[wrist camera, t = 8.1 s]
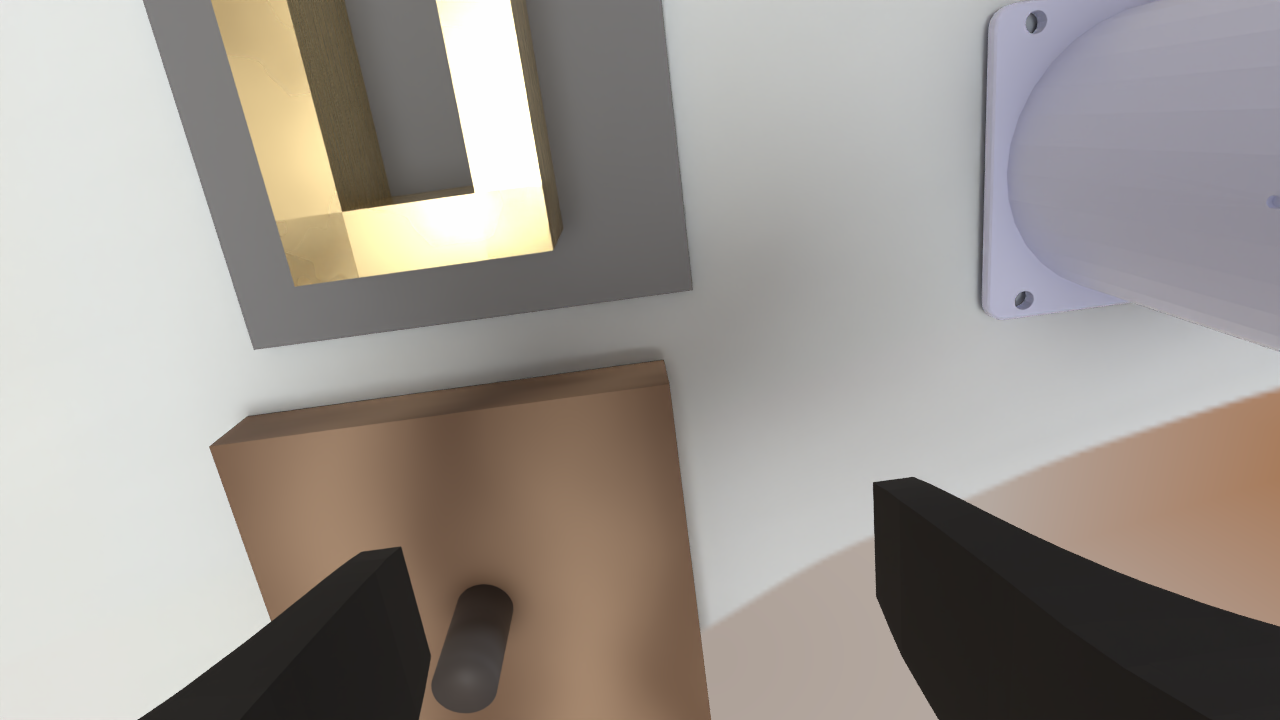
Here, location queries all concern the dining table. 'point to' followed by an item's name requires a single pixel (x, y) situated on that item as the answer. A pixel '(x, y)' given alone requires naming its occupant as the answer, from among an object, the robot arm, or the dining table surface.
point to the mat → (454, 167)
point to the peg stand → (496, 535)
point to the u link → (349, 149)
